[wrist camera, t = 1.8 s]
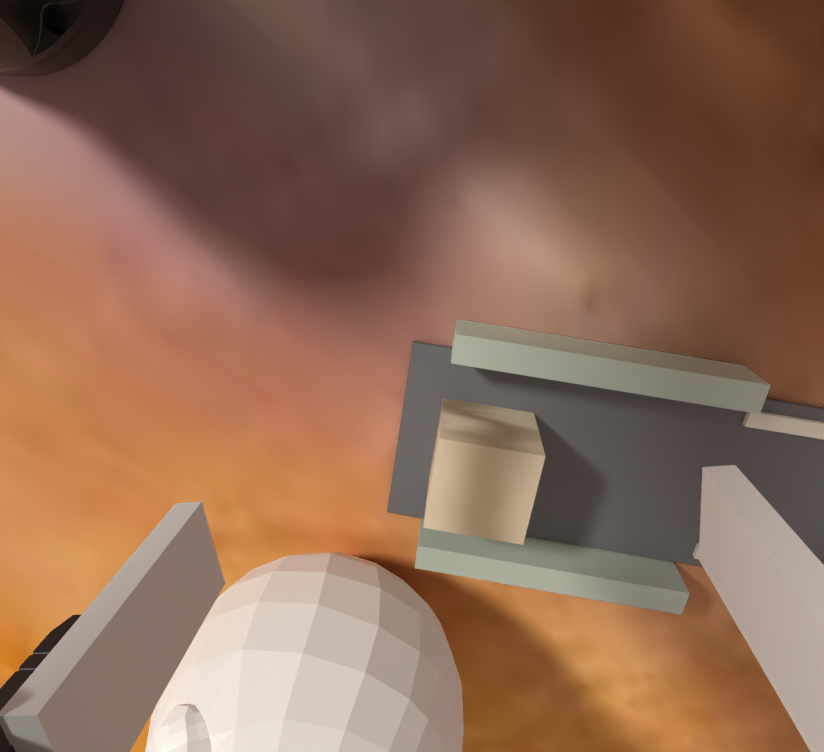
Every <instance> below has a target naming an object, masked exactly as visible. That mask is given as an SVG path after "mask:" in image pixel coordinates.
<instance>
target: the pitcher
mask: <svg viewBox="0 0 824 752" xmlns="http://www.w3.org/2000/svg"><path fill="white" fill-rule="evenodd" d="M463 736H464V721H463V700H462V683H461V680H460V677H459V673H458V670H457V667H456V664H455V661H454V658H453V655H452V652H451V649H450V647H449V644H448V641H447V639H446V636H445V633H444V630H443V628H442V625H441V623H440V621H439V620H438V618H437V617H436V615H435V614H434V612H433V611H432V609H431V608H430V606H429V605H428V604H427V603H426V602H425V601H424V600H423V599H422V598H421V597H420V596H419V595H418V594H417V593H416V592H415V591H414V590H413V589H412V588H411V587H410V586H409V585H408V584H407V583H406V582H405V581H404V580H403V579H401V578H399V577H398V576H396V575H394V574H393V573H391V572H390V571H388V570H386V569H385V568H383V567H381V566H380V565H378V564H376V563H375V562H372V561H368V560H365V559H361V558H358V557H355V556H351V555H348V554H345V553H341V552H329V553H309V554H299V555H290V556H286V557H283V558H280V559H278V560H275V561H273V562H270V563H268V564H265V565H262V566H260V567H257V568H255V569H252V570H251V571H250V572H248V573H247V574H246V575H244V576H243V577H242V578H241V579H239V580H238V581H237V582H236V583H234V584H233V585H232V586H231V587H229V588H228V589H227V590H226V591H225V592H224V593H223V594H222V595H220V596H219V597H218V598H217V599H216V601H215V602H214V604H213V606H212V608H211V609H210V611H209V613H208V615H207V616H206V618H205V620H204V622H203V623H202V625H201V627H200V629H199V630H198V632H197V634H196V636H195V638H194V639H193V641H192V643H191V645H190V646H189V648H188V650H187V652H186V653H185V655H184V657H183V659H182V660H181V662H180V664H179V666H178V667H177V669H176V671H175V673H174V675H173V676H172V678H171V680H170V682H169V683H168V685H167V687H166V689H165V690H164V692H163V694H162V696H161V697H160V699H159V701H158V703H157V705H156V707H155V710H154V712H153V714H152V717H151V722H150V728H149V733H148V739H147V745H146V750H145V752H462V745H463Z"/></svg>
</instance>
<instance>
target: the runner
mask: <svg viewBox="0 0 824 752" xmlns="http://www.w3.org/2000/svg"><path fill="white" fill-rule="evenodd" d="M451 353H452V347H448V346H442V345H436V344H430V343H424V342H418V341H413V345H412V352H411V358H410V365H409V371H408V378H407V385H406V391H405V398H404V405H403V411H402V418H401V424H400V431H399V438H398V444H397V451H396V458H395V464H394V471H393V477H392V484H391V491H390V497H389V504H388V511H387V512H389V513H395V514H401V515H406V516H412V517H418V518H424V517H425V508H426V499H427V491H428V482H429V475H430V469H431V463H432V458H433V452H434V446H435V441H436V435H437V429H438V424H439V418H440V412H441V407H442V401H443V398H447V399H453V400H459V401H465V402H471V403H477V404H483V405H489V406H495V407H501V408H507V409H513V410H519V411H525V412H532V413H534V415H535V419H536V422H537V426H538V430H539V434H540V437H541V441H542V445H543V448H544V452H545V456H546V457H545V461H544V465H543V468H542V472H541V476H540V480H539V484H538V488H537V492H536V496H535V500H534V504H533V508H532V512H531V516H530V520H529V524H528V528H527V532H526V535H525V536H528V537H534V538H539V539H545V540H551V541H557V542H563V543H568V544H574V545H580V546H586V547H591V548H597V549H603V550H609V551H615V552H620V553H626V554H632V555H638V556H644V557H649V558H655V559H661V560H667V561H672V562H678V563H684V564H690V565H696V566H701V567H703V566H702V565H701V563H700V561H699V539H700V514H701V490H702V467H712V466H726V465H736V466H737V468H738V469H739V470H740V471H741V472H742V473H743V474H744V475H745V477H746V478H747V479H748V480H749V481H750V482H751V483H752V485H753V486H754V487H755V488H756V489H757V490H758V491H759V492H760V494H761V495H762V496H763V497H764V498H765V499H766V500H767V501H768V503H769V504H770V505H771V506H772V507H773V508H774V509H775V511H776V512H777V513H778V514H779V515H780V516H781V517H782V518H783V520H784V521H785V522H786V523H787V524H788V525H789V526H790V528H791V529H792V530H793V531H794V532H795V533H796V534H797V535H798V537H799V538H800V539H801V540H802V541H803V542H804V543H805V544H806V546H807V547H808V548H809V549H810V550H811V551H812V552H813V554H814V555H815V556H816V557H817V558H818V559H819V560H820V561H821V563H822V561H823V559H824V408H821V407H815V406H809V405H803V404H797V403H790V402H784V401H778V400H772V399H765V402H764V404H763V407H762V410H761V412H760V414H756V413H750V412H744V411H738V410H732V409H726V408H720V407H714V406H707V405H701V404H695V403H689V402H683V401H677V400H671V399H665V398H659V397H653V396H647V395H641V394H635V393H628V392H622V391H616V390H610V389H604V388H598V387H592V386H586V385H580V384H574V383H568V382H562V381H555V380H549V379H543V378H537V377H531V376H525V375H519V374H513V373H507V372H501V371H495V370H489V369H483V368H476V367H470V366H464V365H458V364H452V363H451Z"/></svg>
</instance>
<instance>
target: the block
mask: <svg viewBox="0 0 824 752" xmlns="http://www.w3.org/2000/svg"><path fill="white" fill-rule="evenodd" d="M545 457H546V456H545V452H544V448H543V445H542V441H541V437H540V434H539V430H538V426H537V422H536V419H535V415H534V413H532V412H525V411H519V410H513V409H507V408H501V407H495V406H489V405H483V404H477V403H471V402H465V401H459V400H453V399H447V398H443V401H442V407H441V412H440V418H439V424H438V429H437V435H436V441H435V446H434V452H433V458H432V463H431V469H430V475H429V482H428V491H427V499H426V508H425V517H424V525H423V528H428V529H434V530H440V531H445V532H451V533H457V534H463V535H468V536H474V537H480V538H486V539H491V540H497V541H503V542H509V543H514V544H520V545H523V543H524V539H525V535H526V532H527V528H528V524H529V520H530V516H531V512H532V508H533V504H534V500H535V496H536V492H537V488H538V484H539V480H540V476H541V472H542V468H543V465H544V461H545Z"/></svg>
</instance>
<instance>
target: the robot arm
mask: <svg viewBox="0 0 824 752" xmlns="http://www.w3.org/2000/svg"><path fill="white" fill-rule="evenodd" d="M122 2H123V0H0V73H4V74H9V75H19V76H32V75H41V74H47V73H51V72H55V71H58V70H60V69H63V68H65V67H67V66H70V65H72V64H73V63H75V62H77V61H78V60H80V59H81V58H83V57H84V56H85V55H87V54H88V53H89V52H90V51H91V50H92V49H93V48H94V47H95V46H96V45H97V44H98V43H99V42H100V41H101V40H102V38H103V37H104V36H105V35H106V33H107V32H108V30H109V29H110V27H111V26H112V24H113V22H114V20H115V18H116V17H117V14H118V12H119V10H120V8H121V5H122ZM699 561H700V563H701V565H702V566H703V568H704V570H705V571H706V573H707V575H708V577H709V578H710V580H711V582H712V583H713V585H714V587H715V589H716V590H717V592H718V594H719V595H720V597H721V599H722V601H723V602H724V604H725V606H726V607H727V609H728V611H729V613H730V614H731V616H732V618H733V620H734V621H735V623H736V625H737V626H738V628H739V630H740V632H741V633H742V635H743V637H744V638H745V640H746V642H747V644H748V645H749V647H750V649H751V650H752V652H753V654H754V656H755V657H756V659H757V661H758V662H759V664H760V666H761V668H762V669H763V671H764V673H765V674H766V676H767V678H768V680H769V681H770V683H771V685H772V686H773V688H774V690H775V692H776V693H777V695H778V697H779V698H780V700H781V702H782V704H783V705H784V707H785V709H786V710H787V712H788V714H789V716H790V717H791V719H792V721H793V722H794V724H795V726H796V728H797V729H798V731H799V733H800V734H801V736H802V738H803V740H804V741H805V743H806V745H807V746H808V748H809V750H810V752H824V565H823V564H822V563H821V561H820V560H819V559H818V558H817V557H816V556H815V555H814V554H813V552H812V551H811V550H810V549H809V548H808V547H807V546H806V544H805V543H804V542H803V541H802V540H801V539H800V538H799V537H798V535H797V534H796V533H795V532H794V531H793V530H792V529H791V528H790V526H789V525H788V524H787V523H786V522H785V521H784V520H783V518H782V517H781V516H780V515H779V514H778V513H777V512H776V511H775V509H774V508H773V507H772V506H771V505H770V504H769V503H768V501H767V500H766V499H765V498H764V497H763V496H762V495H761V494H760V492H759V491H758V490H757V489H756V488H755V487H754V486H753V485H752V483H751V482H750V481H749V480H748V479H747V478H746V477H745V475H744V474H743V473H742V472H741V471H740V470H739V469H738V468H737V466H736V465H726V466H712V467H702V490H701V514H700V539H699ZM224 585H225V581H224V578H223V574H222V571H221V567H220V564H219V560H218V557H217V553H216V550H215V546H214V543H213V539H212V536H211V533H210V529H209V526H208V522H207V519H206V515H205V512H204V508H203V505H202V502H190V503H176V504H175V505H174V506H173V507H172V508H171V509H170V511H169V512H168V513H167V514H166V515H165V517H164V518H163V519H162V520H161V521H160V522H159V524H158V525H157V526H156V527H155V528H154V530H153V531H152V532H151V533H150V534H149V535H148V537H147V538H146V539H145V540H144V541H143V543H142V544H141V545H140V546H139V547H138V549H137V550H136V551H135V552H134V553H133V554H132V556H131V557H130V558H129V559H128V560H127V562H126V563H125V564H124V565H123V566H122V567H121V569H120V570H119V571H118V572H117V573H116V575H115V576H114V577H113V578H112V579H111V581H110V582H109V583H108V584H107V585H106V586H105V588H104V589H103V590H102V591H101V592H100V594H99V595H98V596H97V597H96V598H95V599H94V601H93V602H92V603H91V604H90V605H89V607H88V608H87V609H86V610H85V611H84V612H83V614H82V615H73V616H71V617H70V618H69V619H67V620H66V621H65V622H63V623H62V624H61V625H59V626H58V627H56V628H55V629H54V630H52V631H51V632H50V633H49V634H48V635H47V636H46V638H45V639H44V640H43V641H42V642H41V643H40V644H39V646H38V647H37V648H36V649H35V650H34V651H33V655H30V656H29V657H28V658H27V659H26V660H25V661H24V663H23V664H22V665H21V666H20V667H19V671H16V672H15V673H14V674H13V675H12V676H11V677H10V678H9V680H8V681H7V682H6V683H5V684H4V685H3V686H2V688H1V689H0V752H130V750H131V749H132V747H133V745H134V743H135V741H136V740H137V738H138V736H139V734H140V733H141V731H142V729H143V727H144V726H145V724H146V722H147V720H148V719H149V717H150V715H151V713H152V712H153V710H154V708H155V706H156V704H157V703H158V701H159V699H160V697H161V696H162V694H163V692H164V690H165V689H166V687H167V685H168V683H169V682H170V680H171V678H172V676H173V675H174V673H175V671H176V669H177V667H178V666H179V664H180V662H181V660H182V659H183V657H184V655H185V653H186V652H187V650H188V648H189V646H190V645H191V643H192V641H193V639H194V638H195V636H196V634H197V632H198V630H199V629H200V627H201V625H202V623H203V622H204V620H205V618H206V616H207V615H208V613H209V611H210V609H211V608H212V606H213V604H214V602H215V601H216V599H217V597H218V595H219V593H220V592H221V590H222V588H223V586H224Z"/></svg>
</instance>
